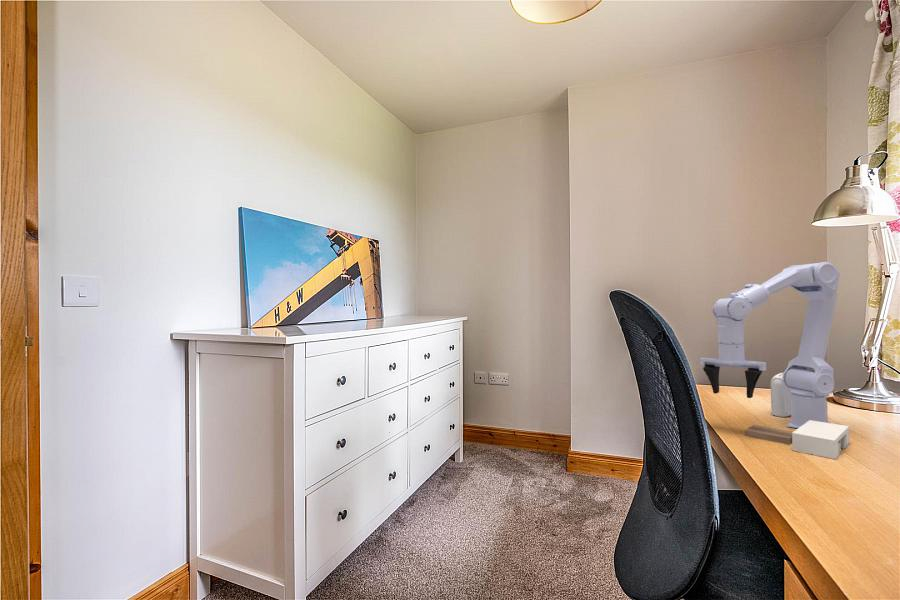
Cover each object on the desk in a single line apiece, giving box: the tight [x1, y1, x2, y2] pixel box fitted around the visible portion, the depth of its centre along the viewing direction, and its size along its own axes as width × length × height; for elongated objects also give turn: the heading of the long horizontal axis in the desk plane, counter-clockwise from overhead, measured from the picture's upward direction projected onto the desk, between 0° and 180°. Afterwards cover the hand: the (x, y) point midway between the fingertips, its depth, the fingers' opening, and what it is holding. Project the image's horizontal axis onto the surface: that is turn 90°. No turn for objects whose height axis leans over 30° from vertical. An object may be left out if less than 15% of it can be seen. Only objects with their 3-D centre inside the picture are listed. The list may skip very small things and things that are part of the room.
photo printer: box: [770, 372, 791, 418], centre depth 125 cm, size 10×4×12 cm, turn 123°
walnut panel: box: [744, 424, 794, 446], centre depth 104 cm, size 7×9×2 cm
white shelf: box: [791, 420, 851, 460], centre depth 97 cm, size 16×7×4 cm, turn 128°
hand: (732, 395), depth 109 cm, fingers open, 7 cm apart
